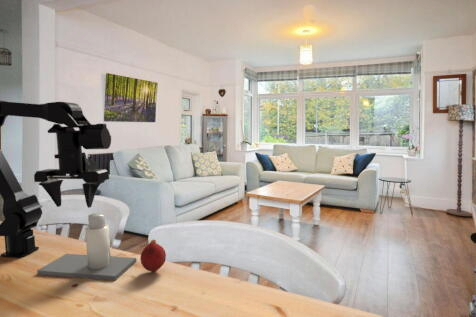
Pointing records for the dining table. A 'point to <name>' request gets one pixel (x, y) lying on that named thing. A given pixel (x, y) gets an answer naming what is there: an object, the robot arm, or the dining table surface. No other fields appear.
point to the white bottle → (97, 242)
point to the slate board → (86, 267)
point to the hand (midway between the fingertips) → (74, 206)
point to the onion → (153, 256)
